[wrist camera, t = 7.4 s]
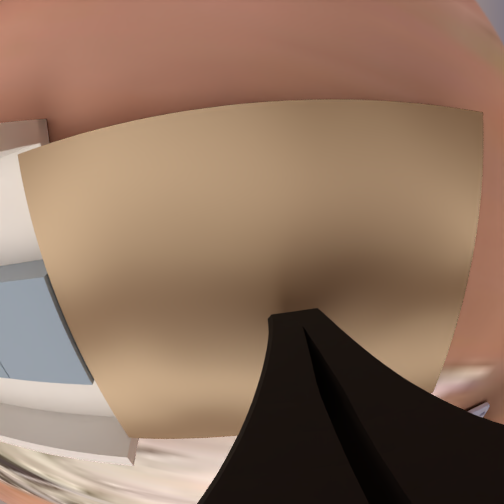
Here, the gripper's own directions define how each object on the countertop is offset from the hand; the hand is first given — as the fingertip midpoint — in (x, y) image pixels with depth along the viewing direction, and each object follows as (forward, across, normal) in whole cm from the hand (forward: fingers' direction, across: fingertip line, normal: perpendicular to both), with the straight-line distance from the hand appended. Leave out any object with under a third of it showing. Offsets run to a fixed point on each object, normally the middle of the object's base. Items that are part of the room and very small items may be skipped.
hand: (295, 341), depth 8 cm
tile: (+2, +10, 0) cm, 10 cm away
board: (+3, 0, 0) cm, 3 cm away
